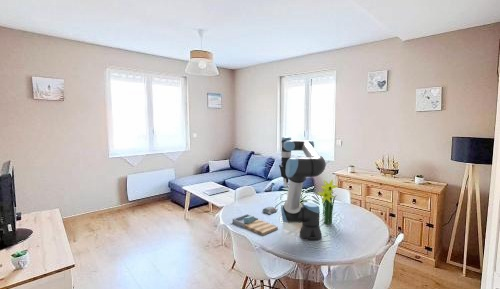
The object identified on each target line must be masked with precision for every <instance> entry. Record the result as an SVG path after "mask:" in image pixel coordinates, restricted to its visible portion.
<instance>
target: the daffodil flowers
mask: <svg viewBox="0 0 500 289" xmlns="http://www.w3.org/2000/svg"><path fill="white" fill-rule="evenodd" d="M323 183H324V184H325V185H322V186H320V187H321V188H322V192H317V193H316V194H317V195H319V196H320V198H321V203H322V206H323V208H322V210H323V211H322V216H323V224H325V225H327V226H329V224H330V225H331V224H333V212H334V203H335V199H336V197H337V196H338V195H337V194H335V195H333V194H334V191H333V189H336V188H338V187H339V185H336V184H335V185H334V184H333V183H334V179H333V178H332V179H331V180H330V181H329V183H328V182H327V181H325V180H323Z"/></svg>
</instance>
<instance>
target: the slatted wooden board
mask: <svg viewBox="0 0 500 289" xmlns="http://www.w3.org/2000/svg"><path fill="white" fill-rule="evenodd" d="M243 228H244V229H246V230H249V231H251V232H254V233H256V234H259V235H261V236H265V235H267V234H270V233H273V232H274V231H277V230H278V229H279V226H277V225H274V224H272V223H268V221H267V222H266V221H264V220H261V219H258V220H256V221H254V222H251V223H248V224H245V225H244V227H243Z"/></svg>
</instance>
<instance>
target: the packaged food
mask: <svg viewBox="0 0 500 289" xmlns="http://www.w3.org/2000/svg"><path fill="white" fill-rule="evenodd" d="M278 210H279V209H278V208H276V207H274V206H268V207H265V208H263V209H262V211H261V212H262V213H265V214H268V215H271V214H273V213H275V212H276V213H277V211H278Z"/></svg>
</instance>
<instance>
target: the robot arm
mask: <svg viewBox="0 0 500 289" xmlns="http://www.w3.org/2000/svg"><path fill="white" fill-rule="evenodd" d="M314 143H315V142H314V141H313V140H312V139H311V140H309V139H307V140H297V139H296V140H292V137H290V136H283V137H281V154H280V155H281V159H280V160H281V161H280V162H281V163H280V164H279V165H278V167H279V170H280V175H281V176H280V177H282V178H283V186H284V187H285V188H287V187H288V190H287V195H286V196H287V197H286V201H285V202H284V204H282V205H281V206H280V212H281V219H282V222H283V223H288V224H290V223H301V226H300V230H299V237H300V238H301V239H302V240H304V241H305V240H306V241H311V242H315V241H320V240H321V239H322V238H323V237H322V236H323V235H322V231H321V227H320V212H321V211H320V206H319V205H318V204H315V203H313V202H307V201H304V202H302V204H300V203H301V197H302V192H303V186H304V185H303V184H304V182H306V181H307V178H314V177H318V176H321V175H322V174H323V173H324V171H325V170H326V167H327V165H326V164H327V163H326V160H325V159H324V157H323V156H322V155H320V154H319V153H318V152H317V150H316V149H315V144H314ZM292 151H294V152H295V151H298V152H299V151H302V152H303V153H304V155H305V157H292Z"/></svg>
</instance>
